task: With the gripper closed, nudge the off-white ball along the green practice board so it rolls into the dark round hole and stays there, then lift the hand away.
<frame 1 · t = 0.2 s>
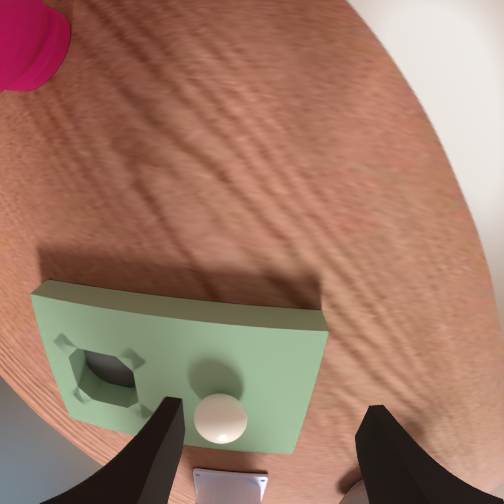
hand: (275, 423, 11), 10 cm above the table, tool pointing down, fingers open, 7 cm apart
pepper mill: (38, 50, 15), on the table
coffee pot: (388, 491, 31), on the table
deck: (173, 370, 23), on the table
ball: (220, 418, 19), point 4 cm above the table, touching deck
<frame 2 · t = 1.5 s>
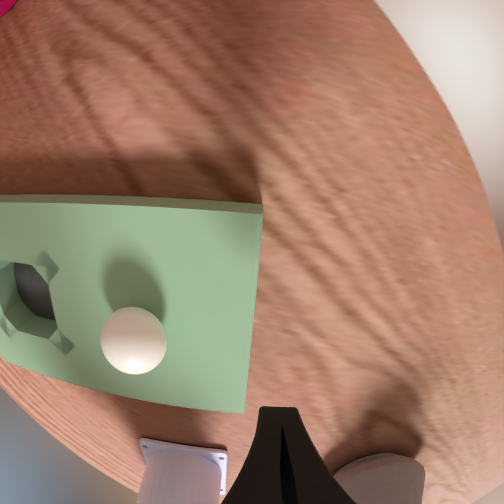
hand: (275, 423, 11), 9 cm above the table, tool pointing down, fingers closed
coffee pot: (381, 482, 27), on the table
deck: (99, 294, 19), on the table
ball: (133, 340, 15), point 4 cm above the table, touching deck
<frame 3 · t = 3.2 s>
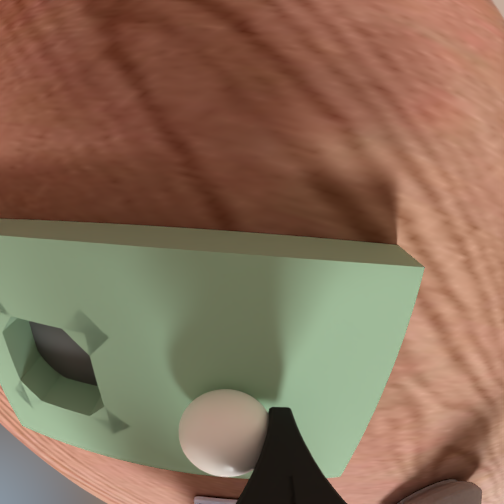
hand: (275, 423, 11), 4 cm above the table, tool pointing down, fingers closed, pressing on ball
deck: (159, 358, 14), on the table
ball: (226, 433, 10), point 4 cm above the table, tilted 15°, touching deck, gripper
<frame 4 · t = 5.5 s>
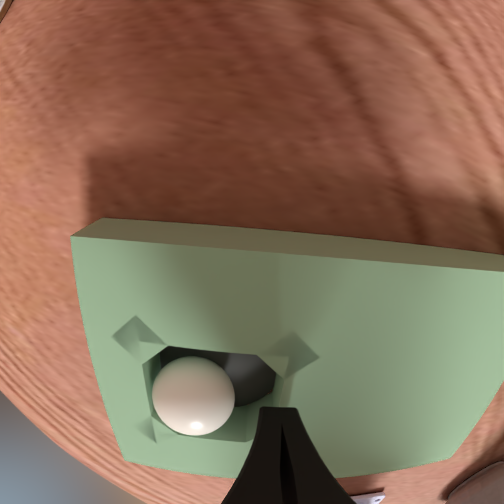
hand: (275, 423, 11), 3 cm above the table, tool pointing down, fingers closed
coffee pot: (478, 488, 22), on the table
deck: (324, 369, 14), on the table
ball: (193, 396, 12), point 2 cm above the table, tilted 18°, touching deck
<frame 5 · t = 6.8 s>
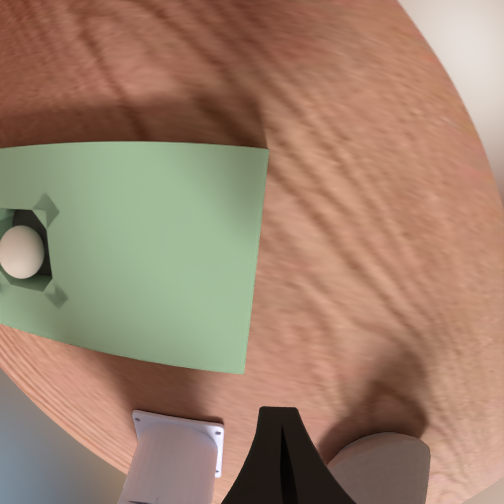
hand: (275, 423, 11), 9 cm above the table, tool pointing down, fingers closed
coffee pot: (383, 467, 27), on the table
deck: (98, 244, 19), on the table
ball: (21, 251, 17), point 2 cm above the table, tilted 9°, touching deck
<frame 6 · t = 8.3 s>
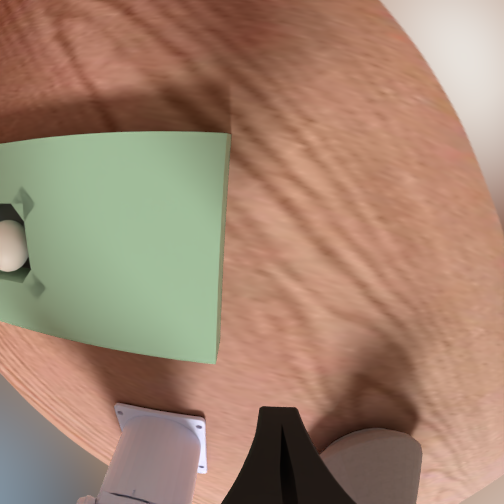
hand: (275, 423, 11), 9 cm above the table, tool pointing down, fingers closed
coffee pot: (375, 464, 27), on the table
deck: (74, 236, 18), on the table
ball: (8, 245, 17), point 2 cm above the table, tilted 19°, touching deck
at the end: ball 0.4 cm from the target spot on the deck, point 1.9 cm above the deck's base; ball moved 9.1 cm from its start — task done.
